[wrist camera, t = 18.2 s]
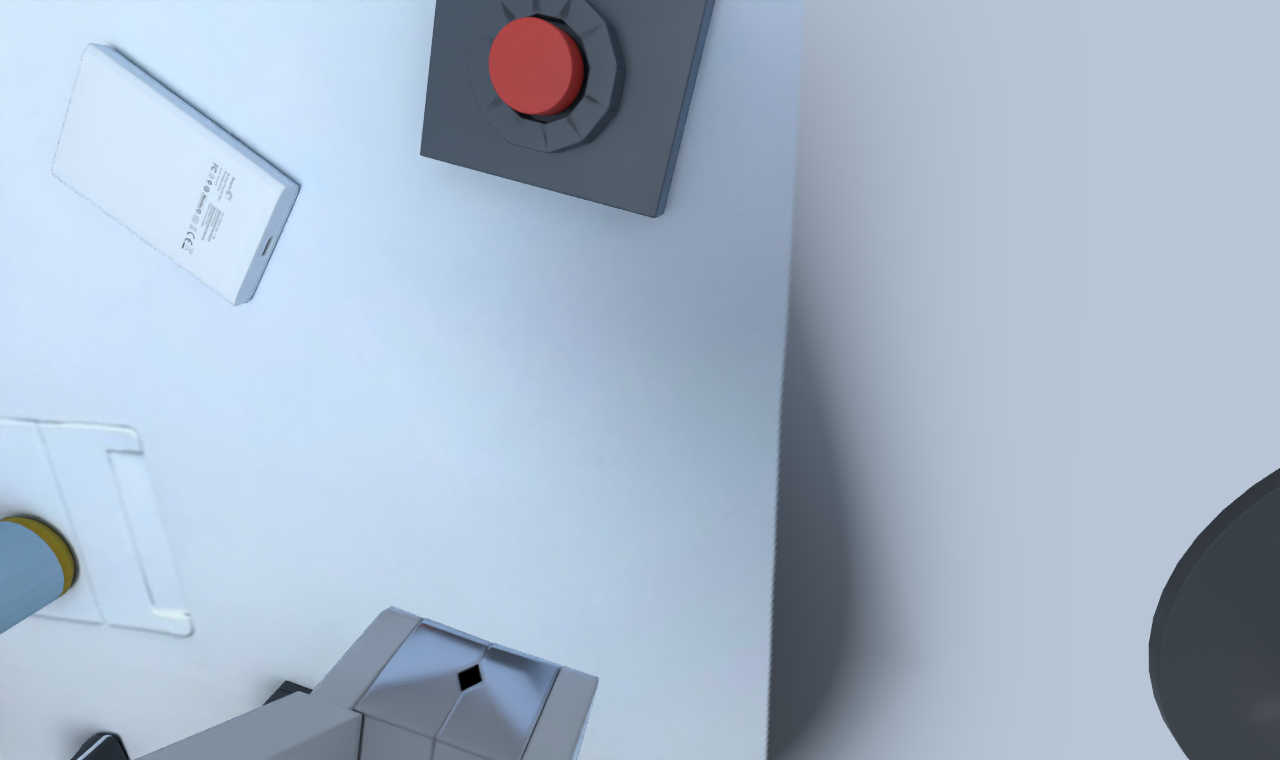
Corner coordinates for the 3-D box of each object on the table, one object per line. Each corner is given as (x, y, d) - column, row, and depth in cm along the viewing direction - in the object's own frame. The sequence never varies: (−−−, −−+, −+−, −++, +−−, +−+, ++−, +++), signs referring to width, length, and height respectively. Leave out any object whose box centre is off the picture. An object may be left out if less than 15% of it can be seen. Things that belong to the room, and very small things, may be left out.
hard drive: (114, 46, 36) (302, 185, 37) (76, 175, 39) (250, 302, 40) (85, 41, 35) (282, 187, 35) (48, 176, 38) (229, 308, 38)
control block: (717, -10, 30) (708, -33, 26) (663, 214, 33) (648, 222, 30) (466, -68, 31) (423, -97, 27) (440, 154, 35) (399, 155, 31)
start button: (592, 34, 28) (580, 27, 26) (575, 124, 29) (563, 123, 28) (511, 15, 28) (495, 7, 27) (498, 104, 30) (482, 102, 28)
